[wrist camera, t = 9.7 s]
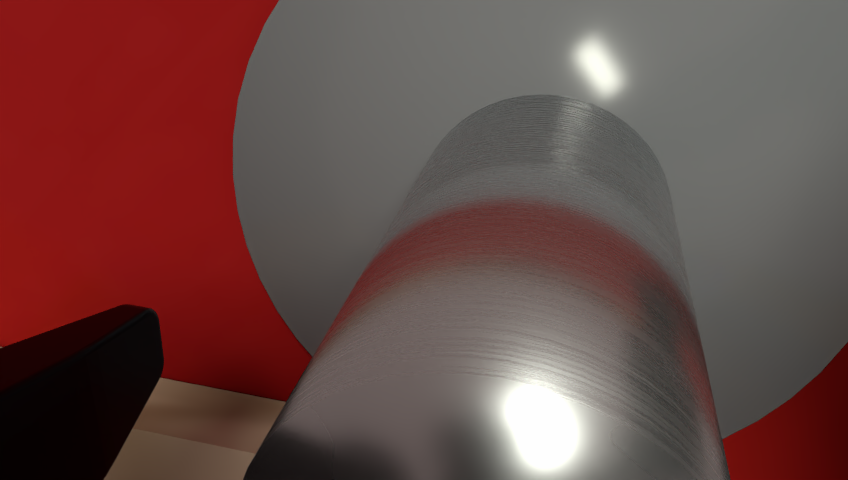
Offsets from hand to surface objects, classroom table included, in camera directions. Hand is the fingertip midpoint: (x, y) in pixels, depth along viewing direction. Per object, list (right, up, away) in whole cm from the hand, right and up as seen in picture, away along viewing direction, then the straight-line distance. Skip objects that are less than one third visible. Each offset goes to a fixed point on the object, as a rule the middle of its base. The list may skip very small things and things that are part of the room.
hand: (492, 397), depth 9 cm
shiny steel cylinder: (+1, +2, +5) cm, 5 cm away
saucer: (+1, +3, +5) cm, 6 cm away
